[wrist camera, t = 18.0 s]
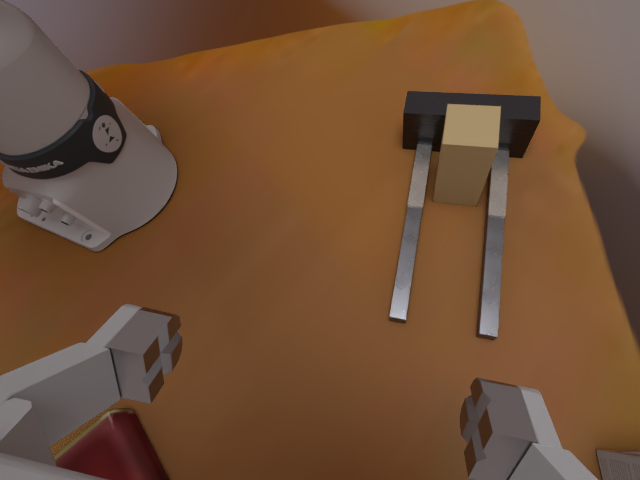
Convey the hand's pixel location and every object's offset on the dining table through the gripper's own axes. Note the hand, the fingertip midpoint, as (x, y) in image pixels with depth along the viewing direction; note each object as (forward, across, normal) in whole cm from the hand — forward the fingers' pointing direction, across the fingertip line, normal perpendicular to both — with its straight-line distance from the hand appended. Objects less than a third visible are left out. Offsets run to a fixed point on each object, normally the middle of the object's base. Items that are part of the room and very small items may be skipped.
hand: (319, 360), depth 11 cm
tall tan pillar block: (+35, -10, +7) cm, 37 cm away
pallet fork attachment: (+31, -10, +10) cm, 34 cm away
